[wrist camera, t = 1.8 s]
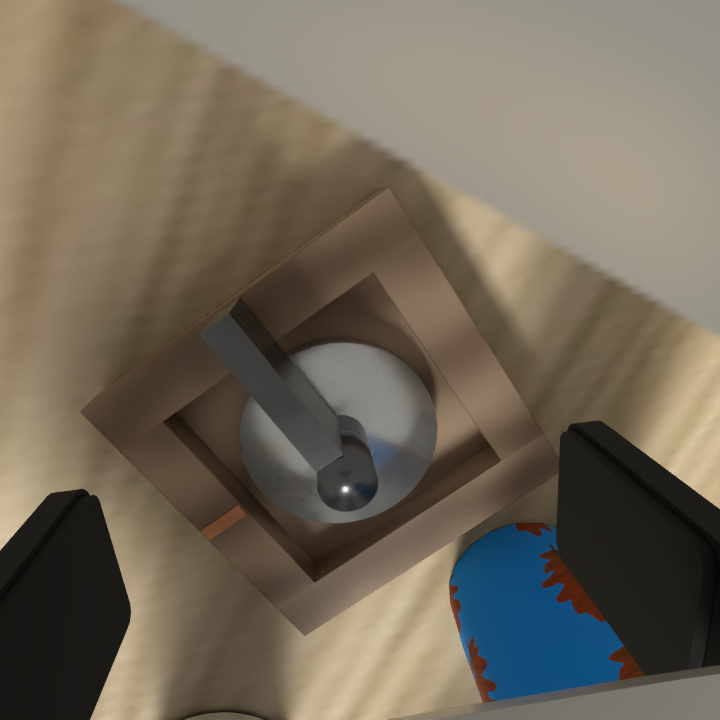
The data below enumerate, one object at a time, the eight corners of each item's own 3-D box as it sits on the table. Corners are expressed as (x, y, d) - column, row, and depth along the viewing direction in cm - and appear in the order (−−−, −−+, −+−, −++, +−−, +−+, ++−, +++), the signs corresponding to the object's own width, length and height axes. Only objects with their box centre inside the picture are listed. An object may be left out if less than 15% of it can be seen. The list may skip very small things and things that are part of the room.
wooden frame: (541, 444, 34) (566, 469, 31) (304, 598, 36) (304, 637, 33) (379, 188, 28) (389, 187, 25) (103, 390, 30) (79, 412, 26)
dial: (466, 444, 32) (504, 501, 26) (318, 543, 33) (321, 619, 27) (319, 234, 27) (324, 244, 21) (150, 357, 28) (109, 400, 22)
